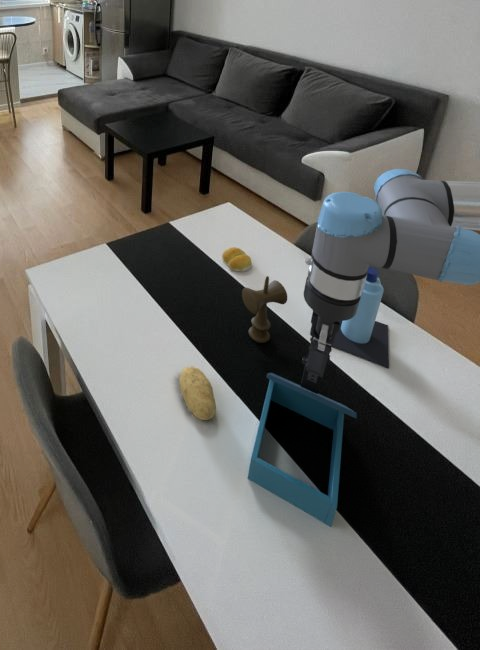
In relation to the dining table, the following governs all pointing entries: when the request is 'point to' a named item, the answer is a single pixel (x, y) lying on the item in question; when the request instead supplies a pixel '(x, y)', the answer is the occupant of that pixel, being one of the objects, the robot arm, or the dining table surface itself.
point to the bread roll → (236, 259)
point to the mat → (367, 345)
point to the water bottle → (365, 310)
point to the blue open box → (285, 483)
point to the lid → (312, 394)
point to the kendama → (262, 307)
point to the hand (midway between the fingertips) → (309, 386)
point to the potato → (197, 393)
